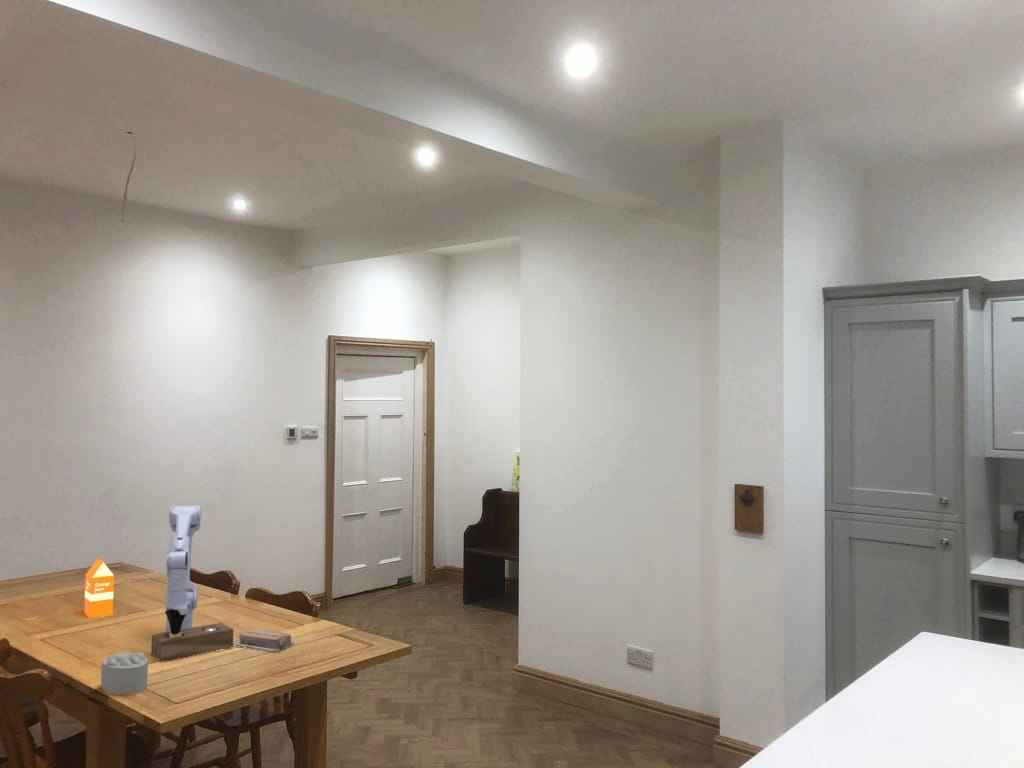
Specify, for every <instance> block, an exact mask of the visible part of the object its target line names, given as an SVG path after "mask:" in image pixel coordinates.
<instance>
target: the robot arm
mask: <svg viewBox="0 0 1024 768" xmlns="http://www.w3.org/2000/svg"><path fill="white" fill-rule="evenodd" d="M168 513H169V515H168V517H169V518H168V519H169V526H170V527H169V528H170V530H171V531H172V532H174V533H175V535H174V536H173V537H172V538H171V539H170V540H171V541H170V545H169V546H170V547H169V553H166V559H165V567H166V577H167V581H166V584H167V585H166V592H165V597H164V598H165V599H164V608H165V611H164V614H165V615H166V619H165V620H166V623H165V625H166V626H165V627H166V628H165V632H171V633H172V634H177V633H180V630H182V629H188V628H193V618H194V617H193V613H194V612H193V611H194V610H196V609H197V607H198V599H199V598H198V597H199V596H198V594H199V593H198V589H199V588H198V586H197V584H196V583H194V582H193V581H191V578H190V577H191V560H192V559H191V558H192V543H193V537H194V533H196V532H197V531H199V530H200V527H201V521H202V519H201V518H202V506H201V505H200V504H198V505H171V507H169V512H168Z"/></svg>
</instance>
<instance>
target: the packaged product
mask: <svg viewBox="0 0 1024 768" xmlns="http://www.w3.org/2000/svg"><path fill="white" fill-rule="evenodd" d="M238 635H239V636H238V638H239V640H237V641H233V645H236V646H240V647H239V648H243V647H246V648H245V649H247V648H251V649H250V650H253V649H256V650H255V651H259V650H263V651H262V652H266V651H268V653H272V652H275V653H274V654H276V652H277V653H279V652H278V651H280V652H282V651H284V650H286V649H288V648H287V647H289V648H291V647H293V646H295V641H293V640H292V635H291V634H289V633H286V632H280V631H274V630H267V629H262V628H261V629H259V628H252V627H249V628H247V629H245V630H244V631H242V632H241V633H240V634H238ZM292 645H293V646H292ZM290 646H291V647H290ZM285 648H286V649H285ZM283 649H284V650H283ZM281 650H282V651H281Z"/></svg>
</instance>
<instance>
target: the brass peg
mask: <svg viewBox="0 0 1024 768" xmlns="http://www.w3.org/2000/svg"><path fill="white" fill-rule="evenodd" d="M180 636H182V632H180V633H177V634H172V633H169V638H174V637H180Z"/></svg>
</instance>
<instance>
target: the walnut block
mask: <svg viewBox="0 0 1024 768" xmlns="http://www.w3.org/2000/svg"><path fill="white" fill-rule="evenodd" d="M211 627H214V628H216V630H214V631H208V632H205V629H206V628H211ZM180 632H182V636H180V637H174V638H169V633H171V632H166V631H165V632H161V633H154V634H151V647H150V648H151V650H150V654H151V656H153V655H154V656H155V658H156V659H157V658H158V659H159V660H158V659H157V660H158V661H160V662H161V661H165V662H168V661H167V660H170V661H173V660H172V659H175V660H178V659H177V658H180V659H184V658H183V657H185V658H189V656H190V657H194V656H193V655H195V656H198V655H197V654H200V655H202V654H201V653H206V652H211V651H216V650H220V649H226V648H231V647H233V648H234V646H233V643H234V629H233V628H232V627H230V626H228V625H226V624H224V623H223V622H218V623H213V624H206V625H201V626H195V627H192V628H188V629H182V630H180ZM231 649H232V648H231ZM226 650H227V649H226ZM216 652H217V651H216ZM211 653H212V652H211ZM206 654H207V653H206Z"/></svg>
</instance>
